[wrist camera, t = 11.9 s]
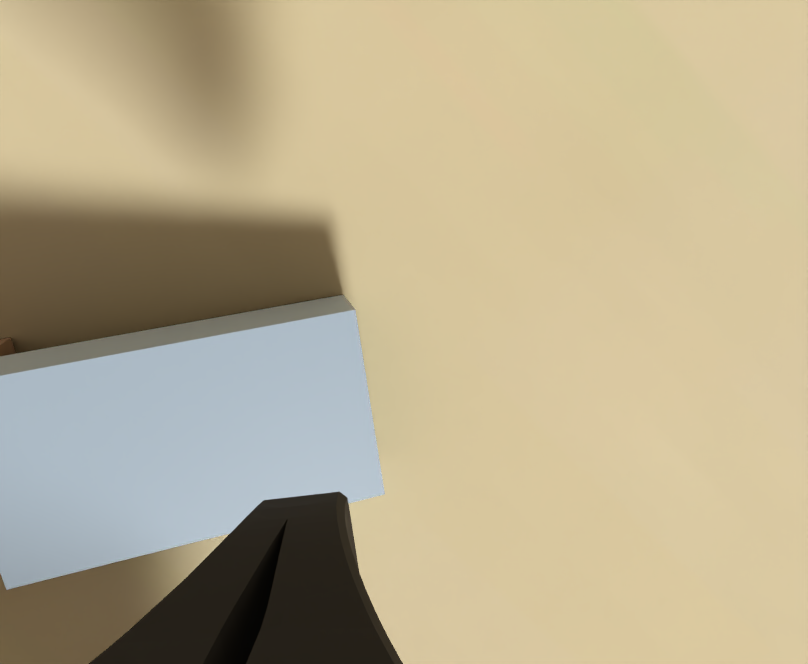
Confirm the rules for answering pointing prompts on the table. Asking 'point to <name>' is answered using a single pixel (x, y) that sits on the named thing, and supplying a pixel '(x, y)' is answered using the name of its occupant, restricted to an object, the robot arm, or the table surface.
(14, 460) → the blue domino
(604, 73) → the table surface
